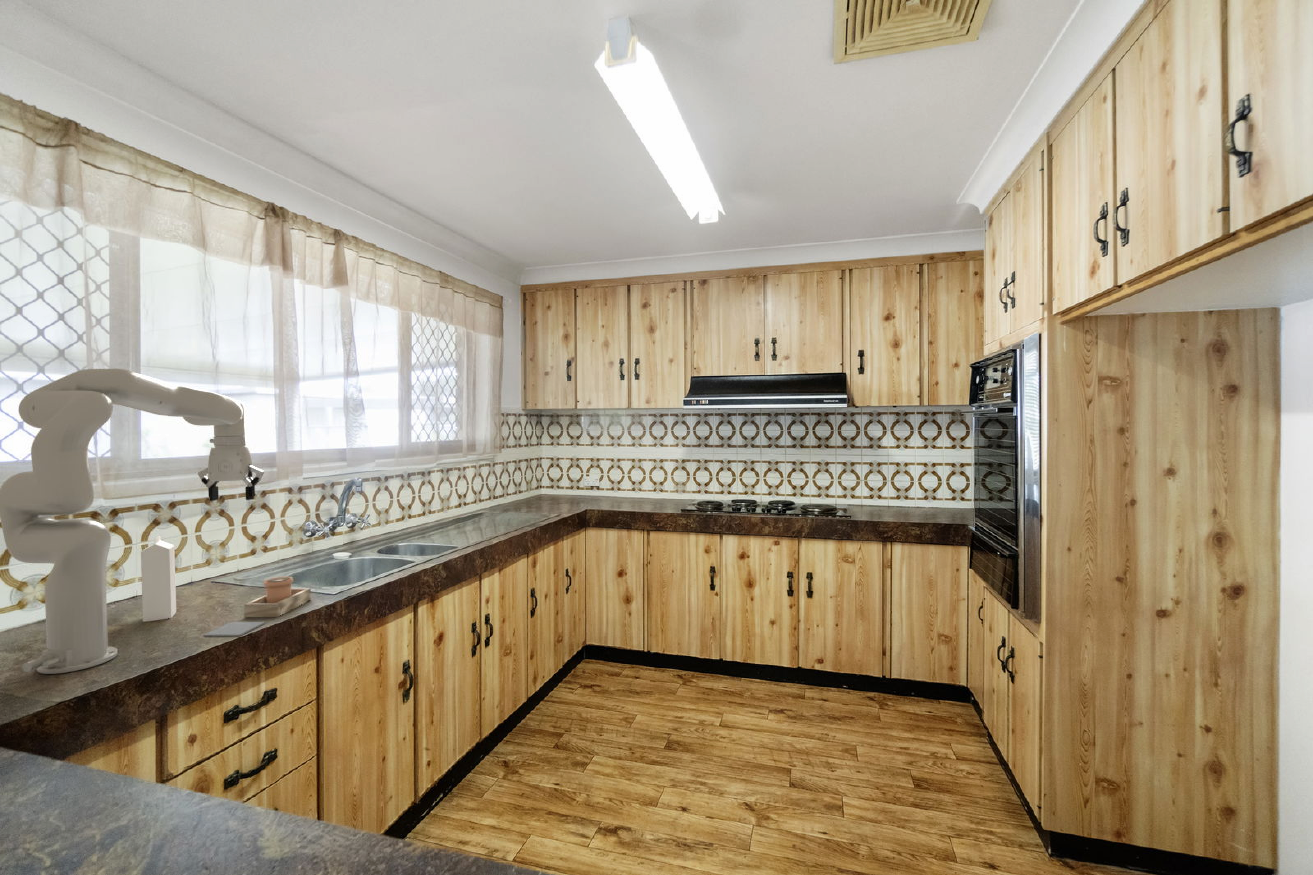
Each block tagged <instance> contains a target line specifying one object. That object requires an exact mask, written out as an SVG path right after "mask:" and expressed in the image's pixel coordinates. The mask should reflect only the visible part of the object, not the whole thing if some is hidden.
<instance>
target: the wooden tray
mask: <svg viewBox="0 0 1313 875" xmlns="http://www.w3.org/2000/svg"><path fill="white" fill-rule="evenodd" d="M311 589H312V588H309V587H307V588H306V587H305V588H304V587H301V588H298V587H297V588H294V587H293V588H292V587H291V596H290V597H288V598H286V599H284V600H282V601H280V602H277V603H266V594H265V595H262V596H260V597H258V598H255V599H254V600H251V601H249V602H246V603H244V604H243V608H244V610H243V611H244V616H243V617H244V618H278V617H280V615H281V616H282V614H283V615H284V614H287V613H288V612H290V611H292V610H294V609H296V608H299V607H300V606H302V605H304V604H306V603H308V602H309V601H308V600H310V601H311V600H312V596H311V595H312V594H311V591H312V590H311ZM307 601H308V602H307ZM301 604H302V605H301ZM299 605H300V606H299ZM291 609H292V610H291Z"/></svg>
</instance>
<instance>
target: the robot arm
mask: <svg viewBox="0 0 1313 875" xmlns="http://www.w3.org/2000/svg"><path fill="white" fill-rule="evenodd" d="M114 405H117V406H121V407H126V408H130V409H134V410H137V411H143V412H146V413H149V414H153V415H158V416H165V417H166V416H167V417H180V418H183V420H184V421H185V422H187V423H188V424H191V425H193V426H199V427H200V426H201V427H203V426H213V438H210V439H209V443H211V444H213V446H214V447H213V446H212V447H211V448H210V452H209V454H208V455H209V456H208V462H207V464H208V466H207V467H206V468H204V469H203V470H200V471H198V473H197V476H198V477H199V479H200V480H201V482H202V483H203V484H204V485H205V486H206V488H207V490H208V498H209V501H210V502H214V501H218V500H219V499H220V498H219V496H220V495H219V486H217V485H218V484H219V482H237V481H239V482H240V481H242V482H243V483H244V484H246V486H245V500H246V501H250V500H253V499H255V497H256V488H255V486H257V484H258V483H259V482H260V481H261V480H262V477H263V476H264V473H265V470H262V469H261V468H258V467H255V466H254V465H253V463H252V462H253V460H252V455H251V452H250V451H251V450H250V448H249V446H247V435H246V434H247V433H246V432H247V431H246V430H247V429H246V405H245V403H244V402H243V401H241V400H236V399H234V398H231V397H229V396H226V395H223V394H220V393H216V392H214V391H208V390H204V389H198V388H194V387H193V388H192V387H190V386H183V385H180V384H179V385H178V384H173V383H169V382H166V381H163V380H160V379H157V378H153V377H151V376H148V375H144V374H142V373H137V372H136V371H133V370H132V371H131V370H129V369H124V368H86V369H81V370H77V371H75V372H72V373H69V374H67V375H65V376H63V377H61V378H59V379H56V380H54V381H52V382H50V383H48V384H46V385H43V386H41V387H39V388H36V389H34V390H33V391H30V392H29V393H27V394H26V395H25V396H24V397H23V398H22V399H21V400H20V403H19V405H18V415H19V416H20V418H21V420H22V421H23V422H24V423H25V424H27V425H28V426H31V427H33V428H37V429H39V431H38V432H37V433H36V436H35V437H34V439H33V442H32V443H31V448H30V457H31V465H32V466H31V467H32V468H31V469H32V471H23V472H19V473H16V474H14V475H13V474H12V475H11V476H9V478H7V479H6V480H5V481H4V482H3V483H2V485H1V486H0V523H1V528H2V533H3V539H4V543H5V547H6V549H7V551H8V553H9V554H10V556H11V557H12V558H14V559H15V560H17V561H19V562H21V563H26V564H52V565H53V566H52V569H51V570H50V573H49V574H48V575H47V578H46V580H45V584H44V605H45V633H46V634H45V635H46V636H45V637H46V649H43V650H41V655H40V656H39V657H38V658H36V659H32V660H29V661H26V662H24V663H22V667H21V668H22V670H23V671H24V672H26V673H27V672H31V671H33V670H36V671H37V673H39V674H44V675H45V674H46V675H54V674H55V675H56V674H57V675H58V674H64V673H70V672H76V671H81V670H85V669H89V668H92V667H96V666H98V665H99V666H100V665H101V664H104V663H107V662H108V661H110V660H112V659H114V658H116V657H117V655H118V652H119V650H118V648H117V647H115V646H114V647H113V646H109V643H108V642H109V639H108V611H107V579H106V578H107V576H106V575H107V561H108V557H109V553H110V552H109V551H110V548H111V540H112V537H111V533H110V530H108V528H107V526H105V525H104V524H102V523H100V522H98V521H95V520H90V519H81V518H80V519H79V518H78V519H76V518H75V519H73V518H70V519H69V518H68V519H66V518H64V519H55V516H71V515H77V514H80V513H84V512H85V511H87V510H89V509H90V507H91V506H92V505H93V504H94V495H95V492H94V485H93V479H92V475H91V468H90V462H89V454H88V450H89V445H90V441H91V440H92V438H93V437H94V435H95V434H96V432H98V430H99V429H100V428H101V427H103V426H104V425H105V424H106V423H107V422H108V421H109V419H111V417H112V415H113V412H114ZM253 473H255V477H253Z"/></svg>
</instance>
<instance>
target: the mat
mask: <svg viewBox="0 0 1313 875" xmlns="http://www.w3.org/2000/svg"><path fill="white" fill-rule="evenodd" d="M265 624H266V622H265V621H231V622H228V623H225V624H224V625H221V626H220V627H217V628H216V629H212V630H211V631H209V632H206V633H205V634H203V637H242V636H244V635H246V634H247V633H249V632H251V631H253V630H255V629H257V628H259V627H261V626H263V625H265ZM256 627H257V628H256ZM254 628H255V629H254ZM252 629H253V630H252Z"/></svg>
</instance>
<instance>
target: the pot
mask: <svg viewBox="0 0 1313 875" xmlns="http://www.w3.org/2000/svg"><path fill="white" fill-rule="evenodd" d="M292 583H294V577H293V576H276V577H271V578H268V579H265V580H263V586H264V587H265V595H266V603H277V602H280V601H282V600H284V599H286V598H288V597H290V596H291V588H292Z"/></svg>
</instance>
